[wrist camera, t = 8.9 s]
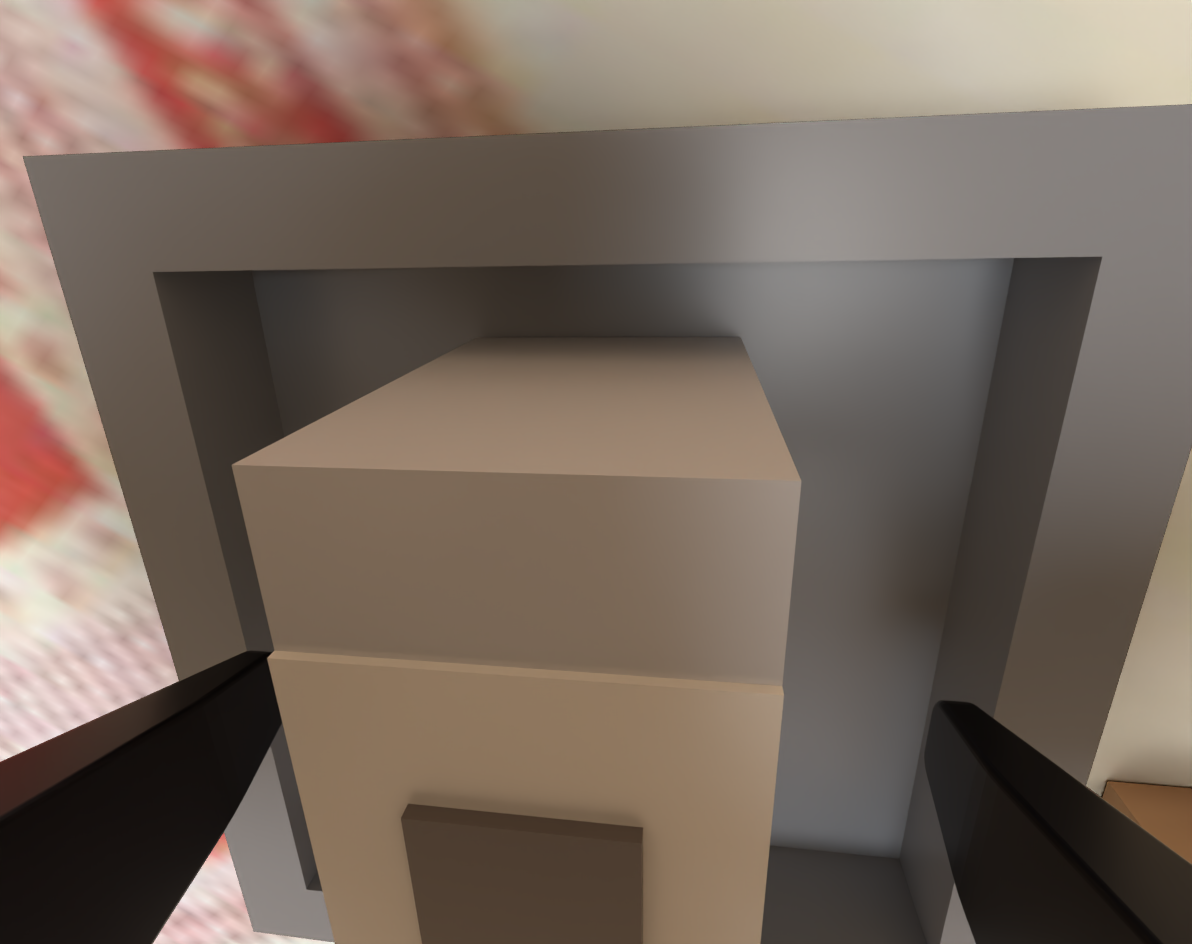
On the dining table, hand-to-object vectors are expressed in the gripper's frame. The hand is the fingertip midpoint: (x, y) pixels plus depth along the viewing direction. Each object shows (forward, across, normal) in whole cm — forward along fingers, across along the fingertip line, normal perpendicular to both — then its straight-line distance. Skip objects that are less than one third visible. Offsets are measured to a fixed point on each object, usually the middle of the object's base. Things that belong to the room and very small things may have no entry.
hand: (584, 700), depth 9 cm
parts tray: (+4, 0, 0) cm, 4 cm away
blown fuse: (+3, 0, 0) cm, 3 cm away
